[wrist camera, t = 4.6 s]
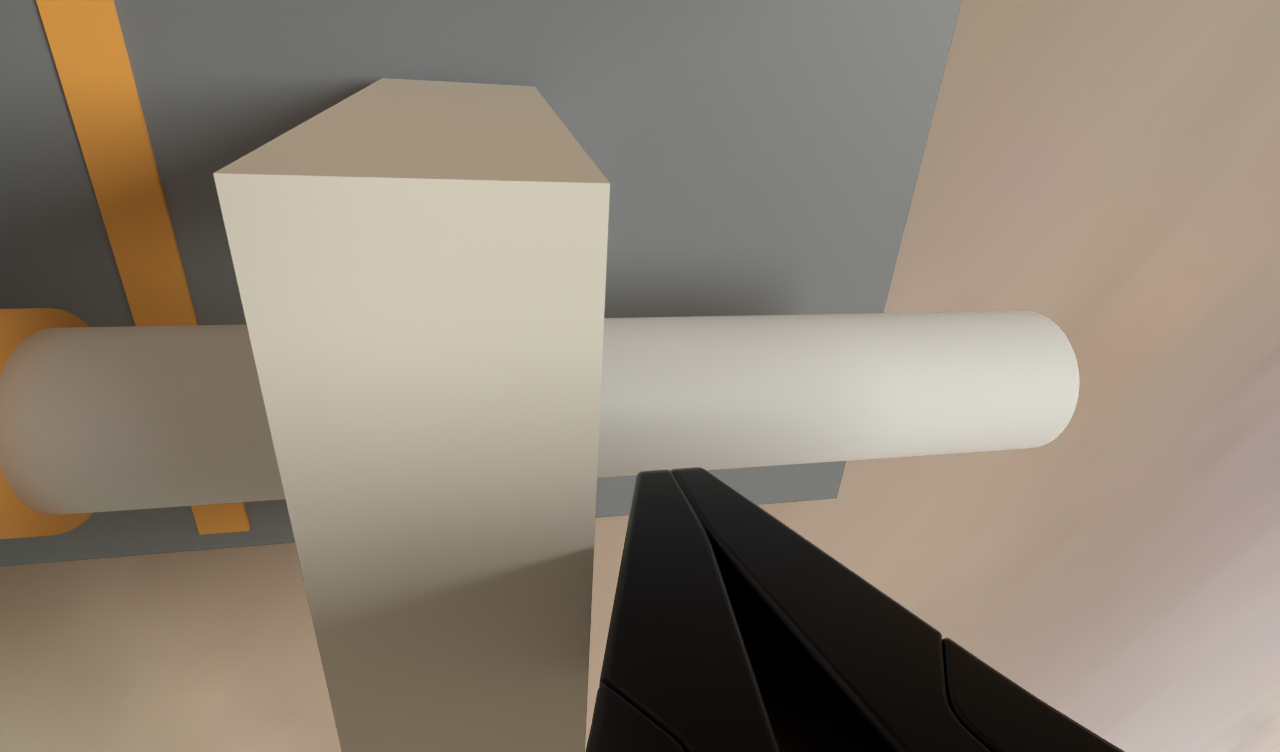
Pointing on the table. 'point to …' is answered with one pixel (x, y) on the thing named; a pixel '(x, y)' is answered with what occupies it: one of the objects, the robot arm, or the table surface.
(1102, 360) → the table surface
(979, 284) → the table surface
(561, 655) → the collar ring
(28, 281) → the pipe mount
